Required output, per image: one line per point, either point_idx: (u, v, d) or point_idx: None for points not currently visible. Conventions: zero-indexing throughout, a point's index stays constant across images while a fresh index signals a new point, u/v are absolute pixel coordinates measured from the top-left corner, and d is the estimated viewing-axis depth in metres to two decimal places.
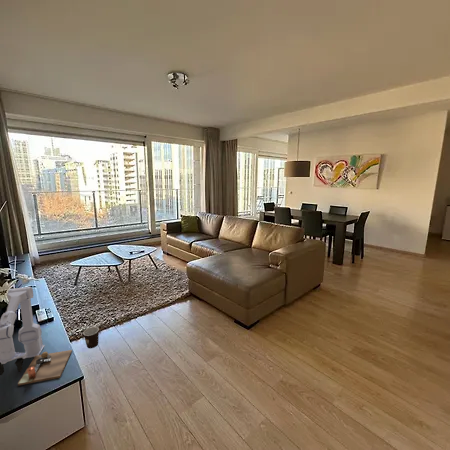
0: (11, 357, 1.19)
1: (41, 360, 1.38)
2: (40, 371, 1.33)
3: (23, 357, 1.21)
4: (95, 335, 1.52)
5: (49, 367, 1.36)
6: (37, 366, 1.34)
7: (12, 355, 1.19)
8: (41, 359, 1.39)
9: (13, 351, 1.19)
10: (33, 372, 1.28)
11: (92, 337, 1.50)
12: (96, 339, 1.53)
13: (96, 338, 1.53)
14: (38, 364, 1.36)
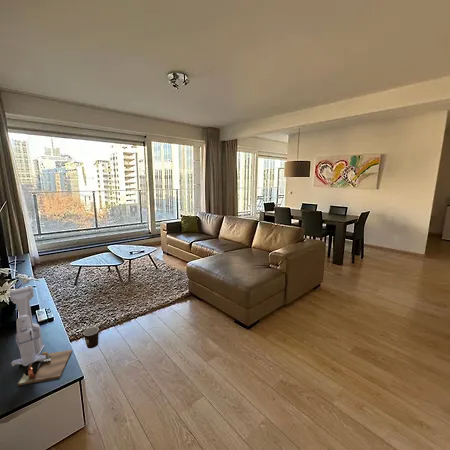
0: (32, 359, 1.26)
1: (41, 360, 1.38)
2: (40, 371, 1.33)
3: (43, 359, 1.28)
4: (95, 335, 1.52)
5: (49, 367, 1.36)
6: None
7: (33, 357, 1.26)
8: None
9: (33, 354, 1.26)
10: (33, 372, 1.28)
11: (92, 337, 1.50)
12: (96, 339, 1.53)
13: (96, 338, 1.53)
14: None
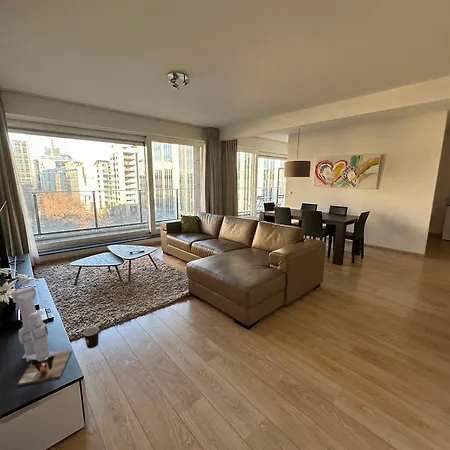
0: (46, 355, 1.29)
1: None
2: None
3: (57, 355, 1.31)
4: (95, 335, 1.52)
5: None
6: None
7: (47, 353, 1.29)
8: None
9: (47, 349, 1.29)
10: (46, 367, 1.31)
11: (92, 337, 1.50)
12: (96, 339, 1.53)
13: (96, 338, 1.53)
14: (41, 363, 1.36)
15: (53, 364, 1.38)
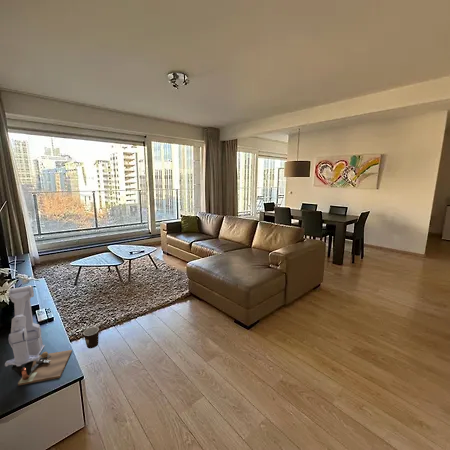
0: (25, 360, 1.25)
1: (41, 360, 1.38)
2: (40, 371, 1.33)
3: (37, 360, 1.27)
4: (95, 335, 1.52)
5: (49, 367, 1.36)
6: (34, 366, 1.34)
7: (26, 358, 1.26)
8: (41, 359, 1.39)
9: (27, 354, 1.26)
10: (26, 373, 1.27)
11: (92, 337, 1.50)
12: (96, 339, 1.53)
13: (96, 338, 1.53)
14: (36, 364, 1.36)
15: (53, 364, 1.38)
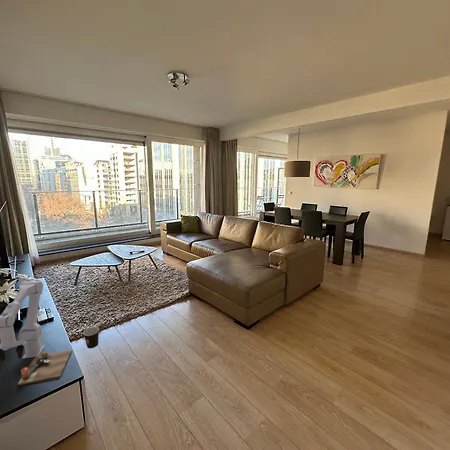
0: (12, 344, 1.27)
1: (41, 360, 1.38)
2: (40, 371, 1.33)
3: (23, 344, 1.29)
4: (95, 335, 1.52)
5: (49, 367, 1.36)
6: (34, 366, 1.34)
7: (13, 342, 1.27)
8: (41, 359, 1.39)
9: (13, 338, 1.28)
10: (26, 373, 1.27)
11: (92, 337, 1.50)
12: (96, 339, 1.53)
13: (96, 338, 1.53)
14: (36, 364, 1.36)
15: (53, 364, 1.38)
